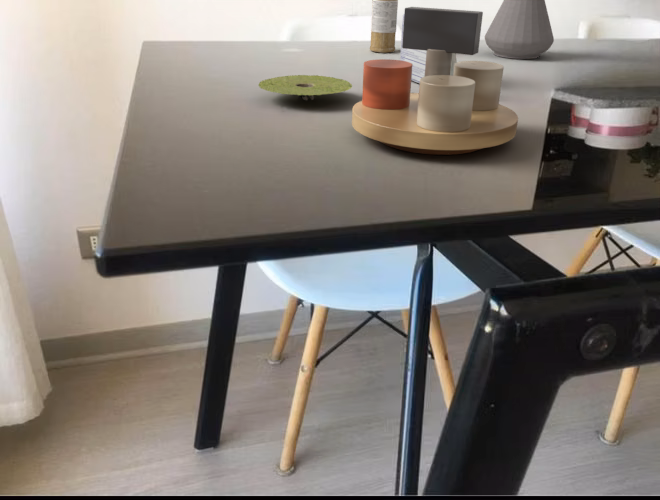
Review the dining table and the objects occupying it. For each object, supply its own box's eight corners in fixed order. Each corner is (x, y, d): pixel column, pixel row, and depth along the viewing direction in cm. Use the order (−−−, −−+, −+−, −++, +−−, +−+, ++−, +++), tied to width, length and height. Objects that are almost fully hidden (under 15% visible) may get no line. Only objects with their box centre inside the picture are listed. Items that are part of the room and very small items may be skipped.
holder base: (501, 133, 65) (502, 123, 64) (467, 162, 56) (468, 151, 56) (402, 118, 69) (403, 109, 69) (357, 142, 61) (357, 132, 60)
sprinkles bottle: (381, 48, 113) (385, -34, 107) (400, 51, 111) (406, -33, 105) (363, 50, 111) (367, -33, 105) (383, 54, 108) (387, -32, 102)
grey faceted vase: (475, 57, 106) (487, -41, 100) (490, 48, 116) (501, -42, 109) (611, 69, 98) (633, -36, 92) (614, 58, 108) (635, -38, 101)
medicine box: (454, 85, 85) (460, 18, 82) (425, 87, 84) (430, 19, 80) (425, 74, 92) (430, 11, 88) (398, 76, 90) (402, 12, 87)
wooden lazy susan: (533, 119, 65) (551, 8, 60) (488, 161, 53) (506, 25, 48) (392, 100, 72) (398, -2, 67) (322, 132, 59) (323, 11, 55)
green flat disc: (361, 93, 80) (362, 78, 79) (337, 114, 70) (337, 97, 69) (278, 87, 83) (278, 72, 82) (244, 106, 73) (243, 89, 72)
